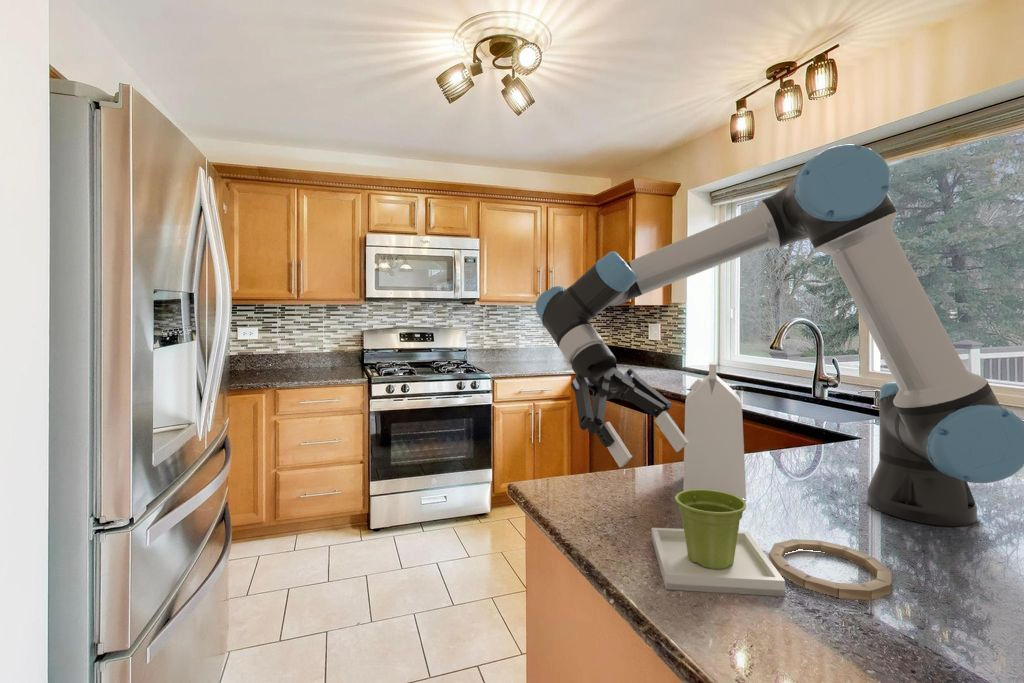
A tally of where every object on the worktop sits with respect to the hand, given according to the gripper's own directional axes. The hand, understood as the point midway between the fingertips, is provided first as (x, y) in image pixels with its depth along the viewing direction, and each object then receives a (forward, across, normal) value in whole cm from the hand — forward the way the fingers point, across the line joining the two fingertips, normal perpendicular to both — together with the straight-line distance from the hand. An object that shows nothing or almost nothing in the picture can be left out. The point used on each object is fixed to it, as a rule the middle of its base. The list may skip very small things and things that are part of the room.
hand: (655, 454), depth 78 cm
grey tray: (+17, 0, -3) cm, 17 cm away
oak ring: (+24, -11, +4) cm, 27 cm away
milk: (+4, -29, -17) cm, 34 cm away
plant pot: (+16, 0, -3) cm, 16 cm away
